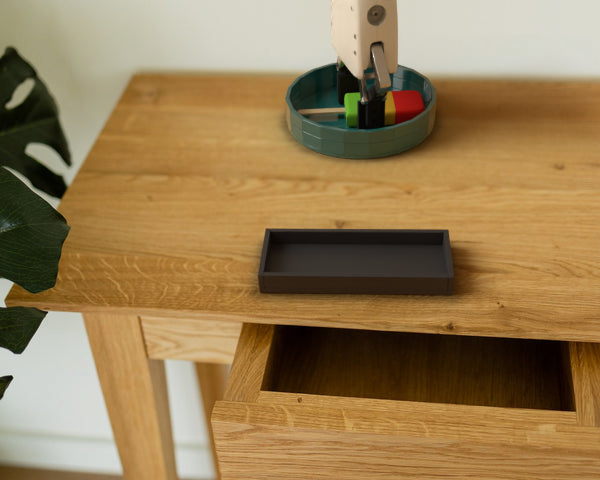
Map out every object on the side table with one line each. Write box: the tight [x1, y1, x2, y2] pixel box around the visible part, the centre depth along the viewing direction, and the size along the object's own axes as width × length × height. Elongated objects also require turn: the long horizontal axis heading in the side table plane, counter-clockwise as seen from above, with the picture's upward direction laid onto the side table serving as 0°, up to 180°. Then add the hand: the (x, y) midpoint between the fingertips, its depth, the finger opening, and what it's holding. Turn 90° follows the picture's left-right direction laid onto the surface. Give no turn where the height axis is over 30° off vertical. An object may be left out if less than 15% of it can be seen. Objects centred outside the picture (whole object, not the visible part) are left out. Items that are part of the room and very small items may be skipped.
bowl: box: [284, 62, 437, 160], centre depth 91 cm, size 18×18×4 cm
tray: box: [257, 227, 455, 296], centre depth 71 cm, size 17×7×2 cm, turn 86°
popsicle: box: [298, 90, 425, 127], centre depth 91 cm, size 6×15×2 cm, turn 91°
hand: (360, 114), depth 91 cm, fingers closed on popsicle, 6 cm apart
